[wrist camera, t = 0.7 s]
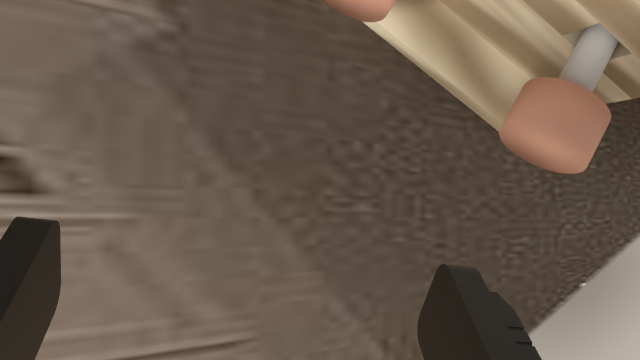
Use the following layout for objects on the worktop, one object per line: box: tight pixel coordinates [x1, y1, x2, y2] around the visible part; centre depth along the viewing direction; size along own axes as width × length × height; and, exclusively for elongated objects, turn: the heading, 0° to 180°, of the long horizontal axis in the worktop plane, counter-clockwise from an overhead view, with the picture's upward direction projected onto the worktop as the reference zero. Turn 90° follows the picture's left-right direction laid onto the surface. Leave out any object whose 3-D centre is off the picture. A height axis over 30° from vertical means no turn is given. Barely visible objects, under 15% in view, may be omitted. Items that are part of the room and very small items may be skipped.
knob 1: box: [499, 23, 619, 174], centre depth 33 cm, size 13×5×5 cm, turn 147°
